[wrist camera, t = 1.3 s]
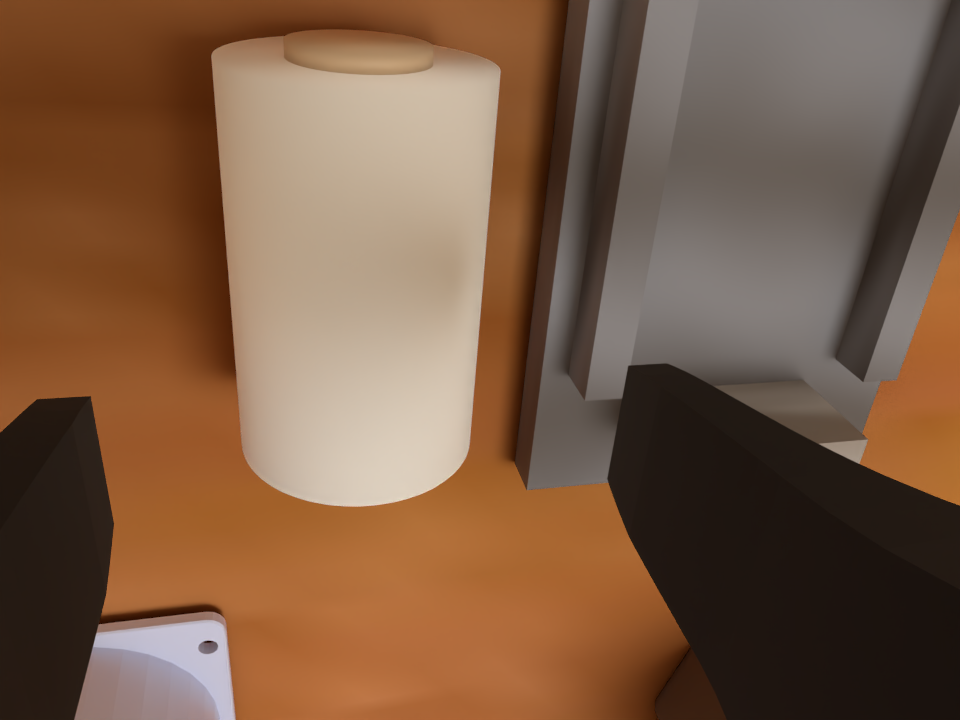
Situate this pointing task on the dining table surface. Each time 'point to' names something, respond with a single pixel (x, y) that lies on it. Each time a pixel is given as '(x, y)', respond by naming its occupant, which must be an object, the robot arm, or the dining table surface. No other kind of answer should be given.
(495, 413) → the dining table surface
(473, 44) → the dining table surface
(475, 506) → the dining table surface
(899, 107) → the roll cradle
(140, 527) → the dining table surface
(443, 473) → the paper roll
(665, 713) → the beer bottle
